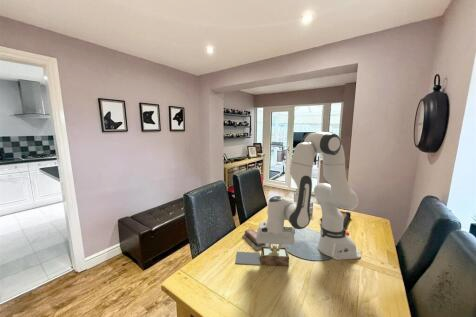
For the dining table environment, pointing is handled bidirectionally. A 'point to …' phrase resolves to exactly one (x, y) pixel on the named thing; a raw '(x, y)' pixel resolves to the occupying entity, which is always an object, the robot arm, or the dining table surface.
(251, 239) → the packaged product
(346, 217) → the book
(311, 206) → the toy llama
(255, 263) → the mat
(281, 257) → the box
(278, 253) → the lid
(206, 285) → the dining table surface
